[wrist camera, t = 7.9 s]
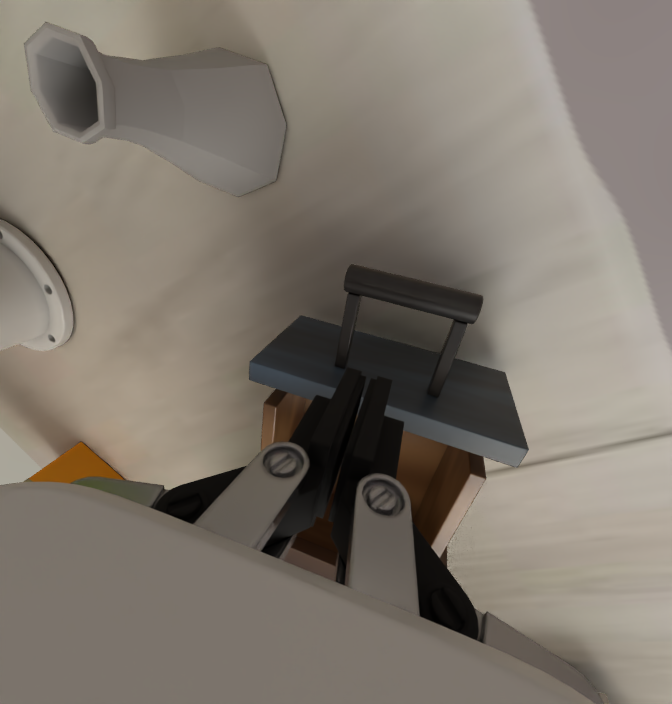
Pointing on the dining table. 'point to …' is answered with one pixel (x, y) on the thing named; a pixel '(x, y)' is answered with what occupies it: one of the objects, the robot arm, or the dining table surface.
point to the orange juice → (75, 467)
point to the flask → (164, 106)
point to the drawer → (401, 398)
